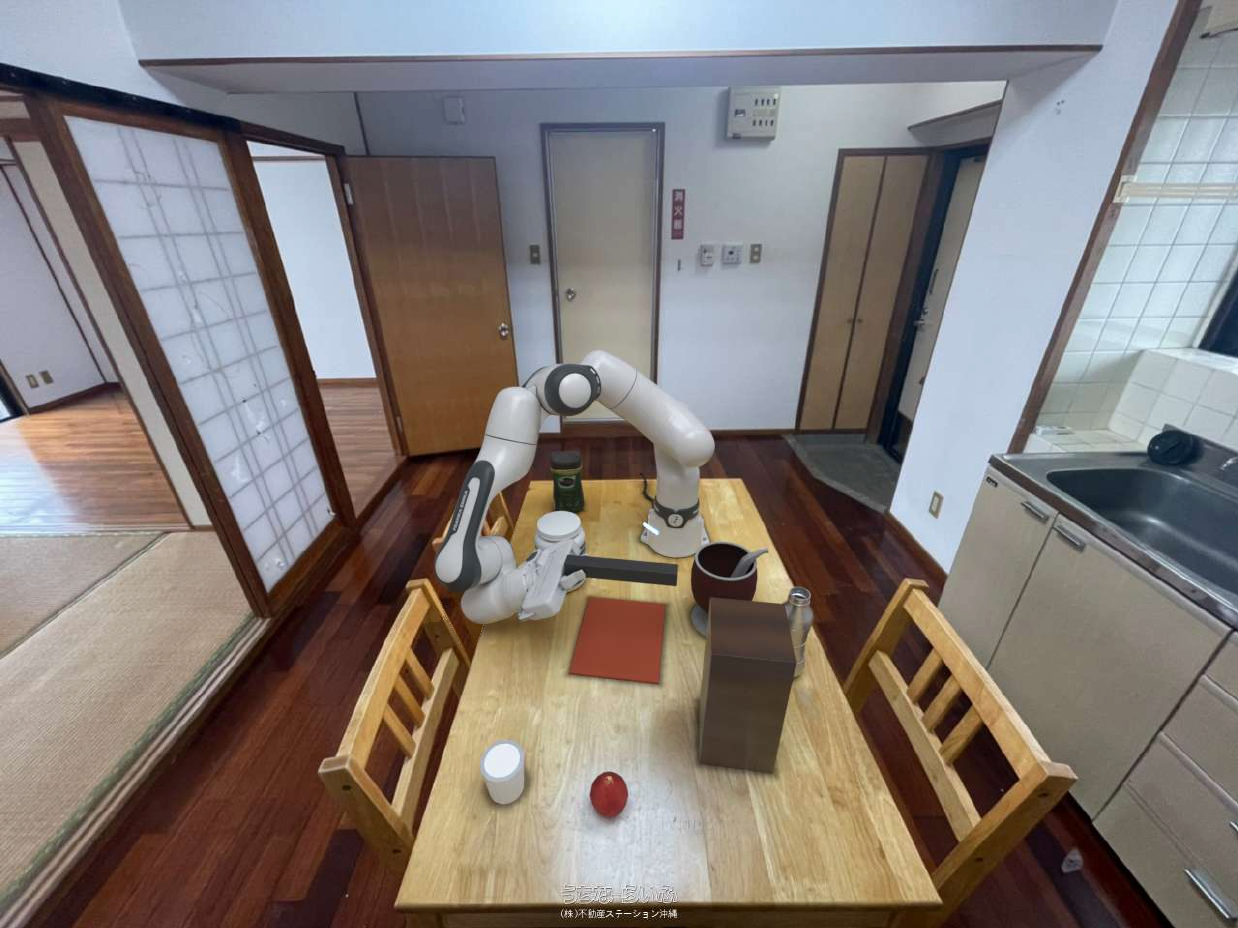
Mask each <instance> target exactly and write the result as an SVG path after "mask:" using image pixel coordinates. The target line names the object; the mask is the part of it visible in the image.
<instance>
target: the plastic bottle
mask: <svg viewBox="0 0 1238 928" xmlns="http://www.w3.org/2000/svg"><path fill="white" fill-rule="evenodd" d="M811 597H812V595H811V592H810V590H808V589H806V588H805V587H802V586H793V587H791V588H790V590H789V592H788V595H787V599H786V600H784V601H783V602H781V604H785V607H786V612H787V617H788V622H789V627H790V632H791V637H792V642H793V647H794V652H795V657H796V662H797V664H796V669H795V673H794V678H796V677H799V676H800V675H801V674H802V672H803V670H804V668H805V665H806V664H805V662H806V657H805V651H806V643H807V639H808V636H809V633H810V631H811V628H812V626H813V624H814V620H815V617H814V616H815V615H814V611H813V609H812V608H811V606H810V603H811Z"/></svg>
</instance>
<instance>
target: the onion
mask: <svg viewBox="0 0 1238 928" xmlns="http://www.w3.org/2000/svg"><path fill="white" fill-rule="evenodd" d="M628 797H629V791H628V786H627V782H625V780H624V779H623V777H622V776H621V775H620V774H619V773H617V772H614V771H604V772H602V773H600V774H598V775H597V776H596V777H595V779H594V780H593V781H592V783H591V785H590V791H589V799H590V804H591V806H592V808H593V810H594V811H595V813H597V814H598V815H599V816H601V817H606V818H614V817H616V816H618V815H619V814H620V813H622V812H623V811H624V809H625V808H626V806H627V802H628Z"/></svg>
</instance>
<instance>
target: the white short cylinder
mask: <svg viewBox="0 0 1238 928" xmlns="http://www.w3.org/2000/svg"><path fill="white" fill-rule="evenodd" d="M479 770H480V773H481V776H482V778H483V780H484V783H485V786H486V788H487V791H488V793H489V796H490V798H491V799H492V801H493V802H495V803H496V804H499V805H509V804H512V803H513V802H515V801H517V800H518V799H519V797H520V796H521V795H522V793H523V791H524V788H525V752H524V749H523V747H522V746H521V745H520V744H519V743H517V741H514V740H510V739H502V740H498V741H496V742H494V743H492V744H490V745H489V746H488V747H487V748H486V749H485V750H484V752H483V754H482V756H481V757H480V763H479Z"/></svg>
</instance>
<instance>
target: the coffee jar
mask: <svg viewBox="0 0 1238 928" xmlns="http://www.w3.org/2000/svg"><path fill="white" fill-rule="evenodd" d="M549 470H550V472H551V474H552V482H553V483H552V485H553V486H552V491H553V492H552V505H553V509H554V511H567V512H571V513H577V512H581V511H582V510H584V508H585V505H586V504H585V495H584V488H583V483H582V482H583V481H582V470H583V459H582V455H581V452H580V450H569V451H568V450H567V451H565V450H564V451H552V452H551V454H550V461H549Z"/></svg>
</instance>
